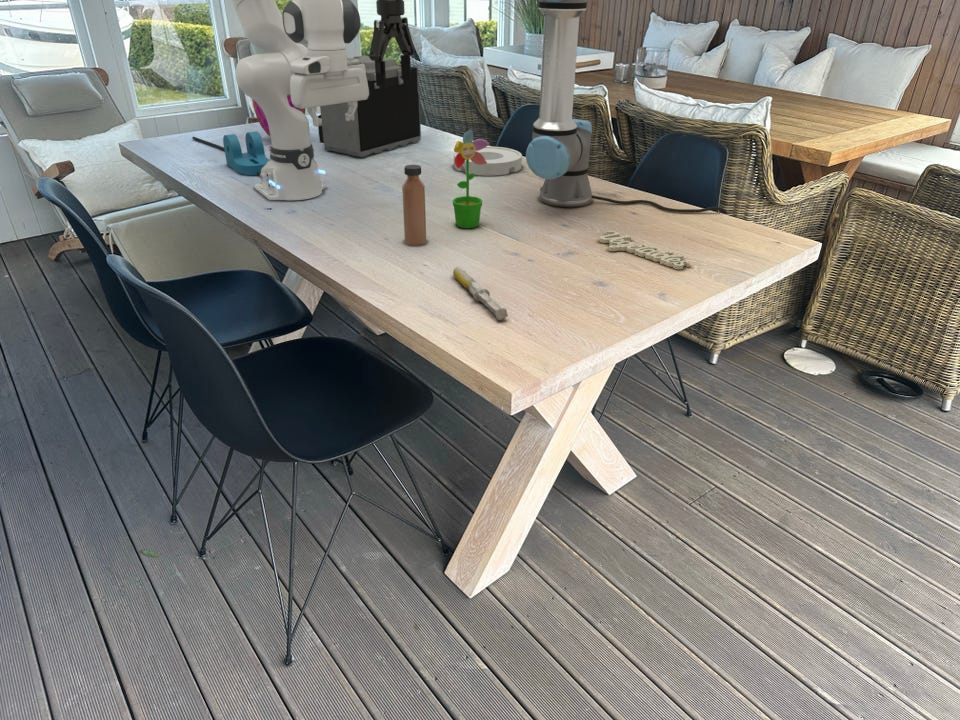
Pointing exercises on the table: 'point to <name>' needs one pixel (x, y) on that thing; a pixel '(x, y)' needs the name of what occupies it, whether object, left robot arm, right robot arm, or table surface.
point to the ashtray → (494, 162)
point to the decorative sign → (643, 250)
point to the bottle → (414, 211)
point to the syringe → (479, 293)
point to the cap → (412, 170)
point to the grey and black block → (375, 115)
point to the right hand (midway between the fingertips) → (394, 83)
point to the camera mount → (245, 161)
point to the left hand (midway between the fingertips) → (334, 123)
